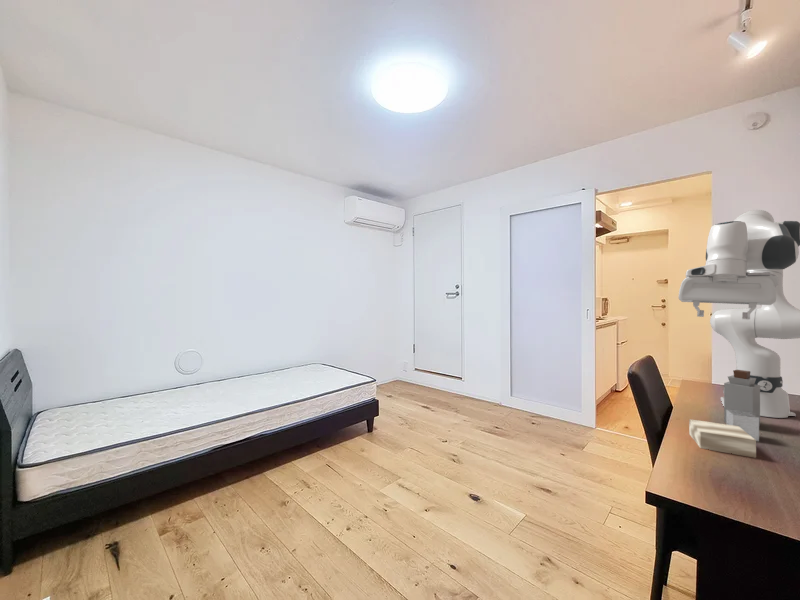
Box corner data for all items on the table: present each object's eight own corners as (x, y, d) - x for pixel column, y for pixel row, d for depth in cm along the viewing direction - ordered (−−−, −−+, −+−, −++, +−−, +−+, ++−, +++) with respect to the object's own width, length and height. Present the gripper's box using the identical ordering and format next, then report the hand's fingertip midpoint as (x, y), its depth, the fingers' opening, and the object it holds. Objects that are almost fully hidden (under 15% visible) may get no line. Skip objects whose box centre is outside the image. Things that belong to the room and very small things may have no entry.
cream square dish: (689, 435, 99) (689, 419, 99) (738, 443, 93) (738, 426, 93) (700, 449, 89) (700, 431, 89) (756, 459, 84) (756, 440, 84)
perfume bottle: (752, 429, 103) (752, 374, 103) (724, 422, 109) (724, 370, 109) (760, 425, 106) (759, 371, 106) (732, 418, 112) (731, 368, 112)
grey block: (726, 431, 101) (726, 409, 101) (751, 435, 98) (750, 412, 98) (733, 437, 97) (733, 414, 97) (759, 441, 94) (758, 418, 94)
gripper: (776, 275, 90) (775, 322, 88) (681, 275, 104) (677, 316, 103) (780, 268, 86) (778, 318, 84) (679, 270, 100) (676, 313, 98)
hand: (722, 317), depth 93 cm, fingers open, 8 cm apart
